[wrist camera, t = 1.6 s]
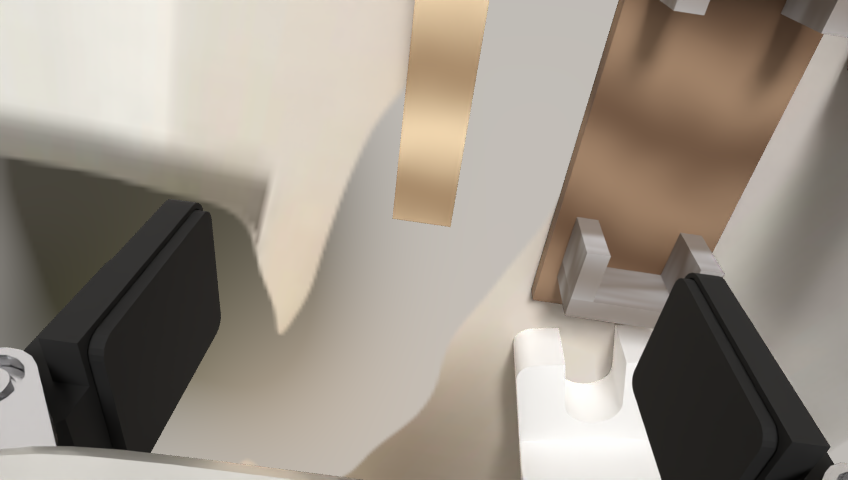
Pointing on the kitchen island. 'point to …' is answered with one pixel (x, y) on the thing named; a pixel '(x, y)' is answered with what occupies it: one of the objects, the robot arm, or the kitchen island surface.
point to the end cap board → (671, 146)
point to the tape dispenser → (580, 412)
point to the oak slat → (437, 107)
